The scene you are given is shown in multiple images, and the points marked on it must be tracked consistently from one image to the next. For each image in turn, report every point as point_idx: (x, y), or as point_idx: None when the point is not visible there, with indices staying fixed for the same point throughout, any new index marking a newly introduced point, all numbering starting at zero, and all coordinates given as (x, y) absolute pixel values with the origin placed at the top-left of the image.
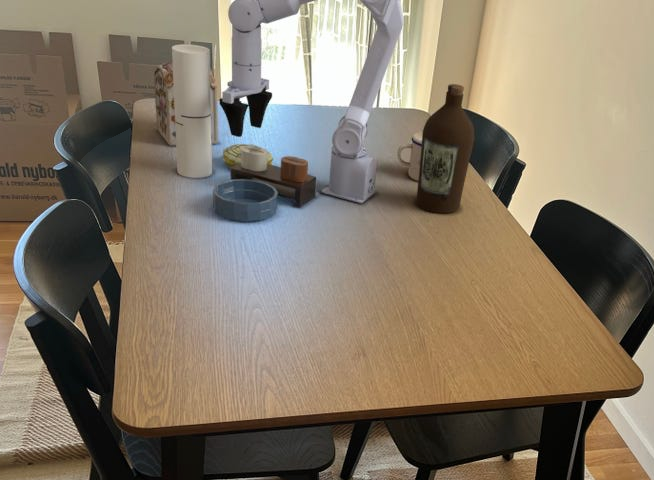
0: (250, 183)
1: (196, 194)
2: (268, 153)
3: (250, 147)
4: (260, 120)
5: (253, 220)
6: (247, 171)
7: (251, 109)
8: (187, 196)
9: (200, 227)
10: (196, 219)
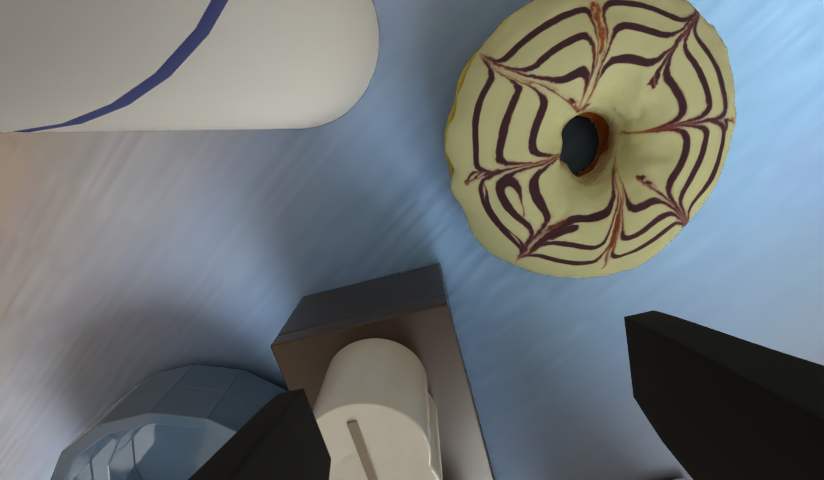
0: None
1: (146, 257)
2: (661, 239)
3: (387, 437)
4: (689, 463)
5: None
6: None
7: (785, 444)
8: (102, 252)
9: (18, 459)
10: (34, 414)
